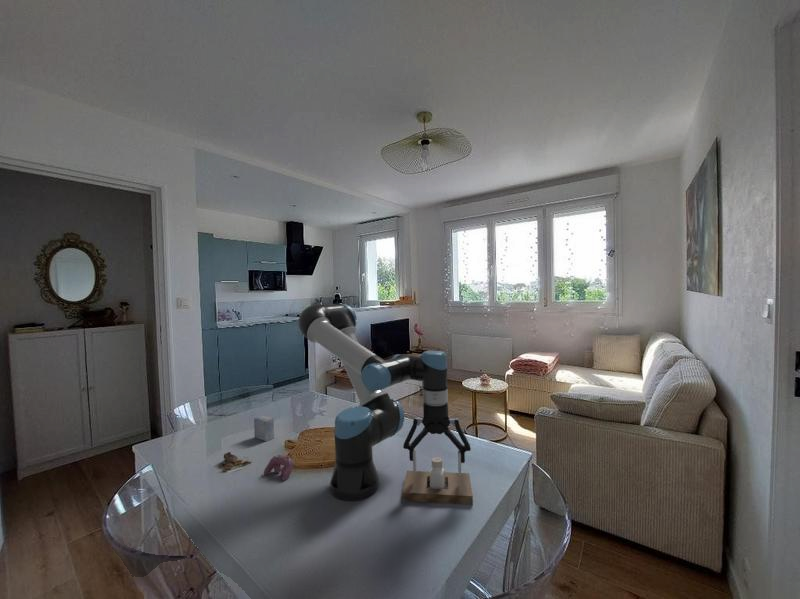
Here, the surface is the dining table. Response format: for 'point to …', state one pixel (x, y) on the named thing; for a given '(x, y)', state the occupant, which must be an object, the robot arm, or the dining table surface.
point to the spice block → (455, 493)
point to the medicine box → (264, 428)
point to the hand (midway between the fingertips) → (437, 471)
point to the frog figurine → (234, 462)
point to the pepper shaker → (437, 474)
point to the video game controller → (277, 463)
